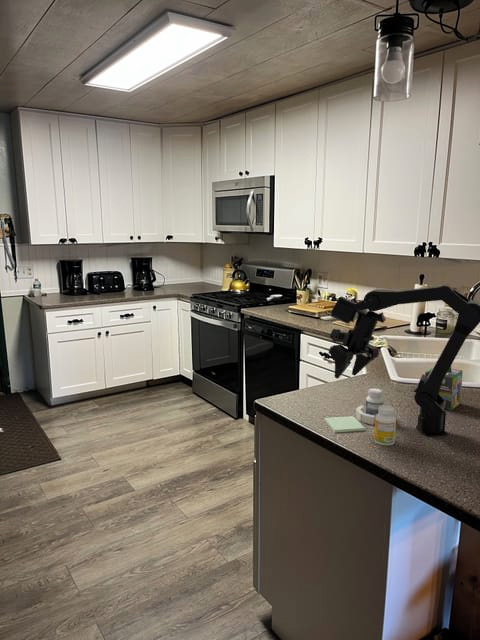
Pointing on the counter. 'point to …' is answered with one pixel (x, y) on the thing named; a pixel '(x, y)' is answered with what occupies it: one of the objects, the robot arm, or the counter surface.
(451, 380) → the chalk box
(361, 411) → the locking ring
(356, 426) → the pad
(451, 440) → the counter surface
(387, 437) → the supplement bottle
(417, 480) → the counter surface
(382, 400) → the pill bottle
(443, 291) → the robot arm
